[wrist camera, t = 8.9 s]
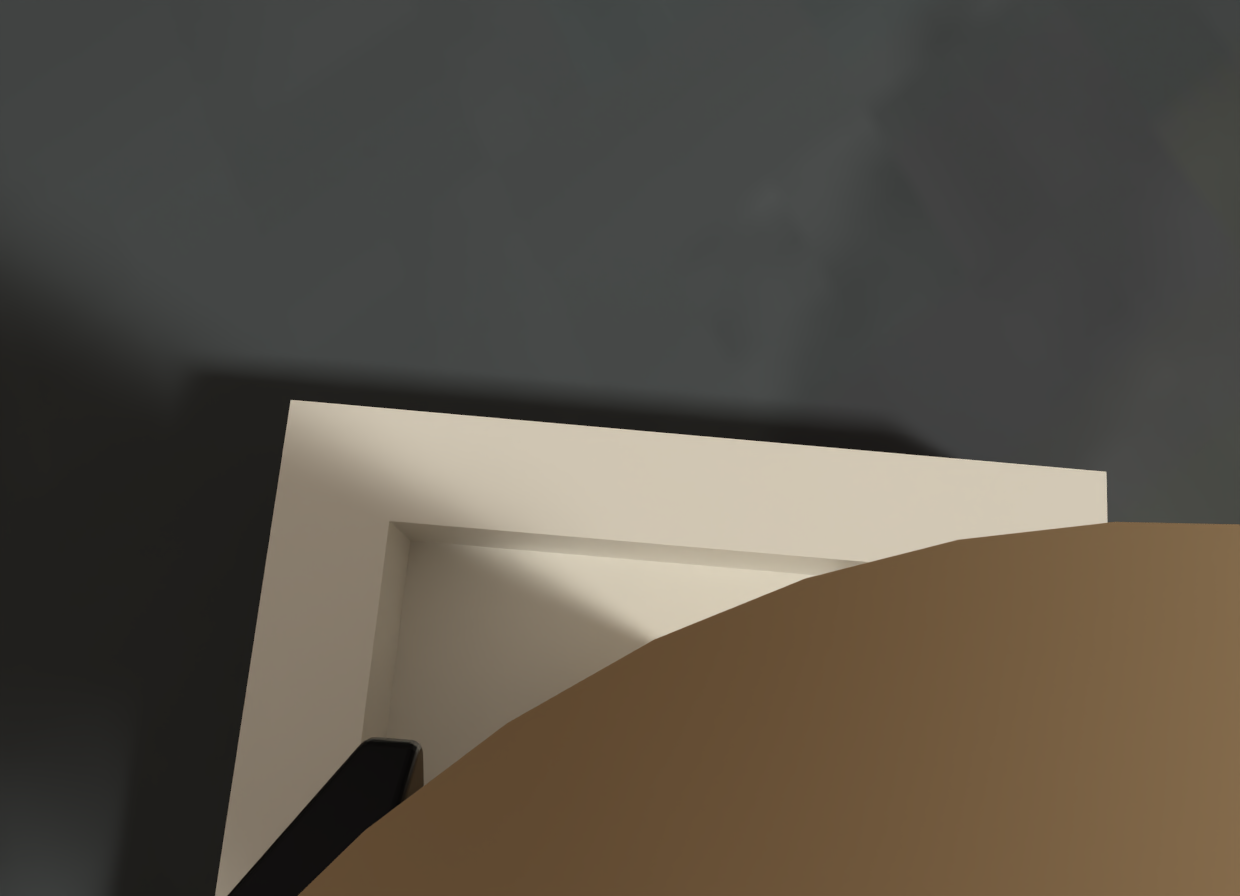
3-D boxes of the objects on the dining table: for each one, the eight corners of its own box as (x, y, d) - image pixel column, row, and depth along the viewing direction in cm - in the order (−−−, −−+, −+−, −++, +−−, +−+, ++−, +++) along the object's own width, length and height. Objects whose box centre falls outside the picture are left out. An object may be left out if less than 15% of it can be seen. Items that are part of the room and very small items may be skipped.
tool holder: (1032, 1300, 15) (1124, 1423, 12) (216, 1245, 14) (143, 1357, 12) (1030, 503, 17) (1106, 471, 15) (330, 442, 17) (291, 399, 14)
